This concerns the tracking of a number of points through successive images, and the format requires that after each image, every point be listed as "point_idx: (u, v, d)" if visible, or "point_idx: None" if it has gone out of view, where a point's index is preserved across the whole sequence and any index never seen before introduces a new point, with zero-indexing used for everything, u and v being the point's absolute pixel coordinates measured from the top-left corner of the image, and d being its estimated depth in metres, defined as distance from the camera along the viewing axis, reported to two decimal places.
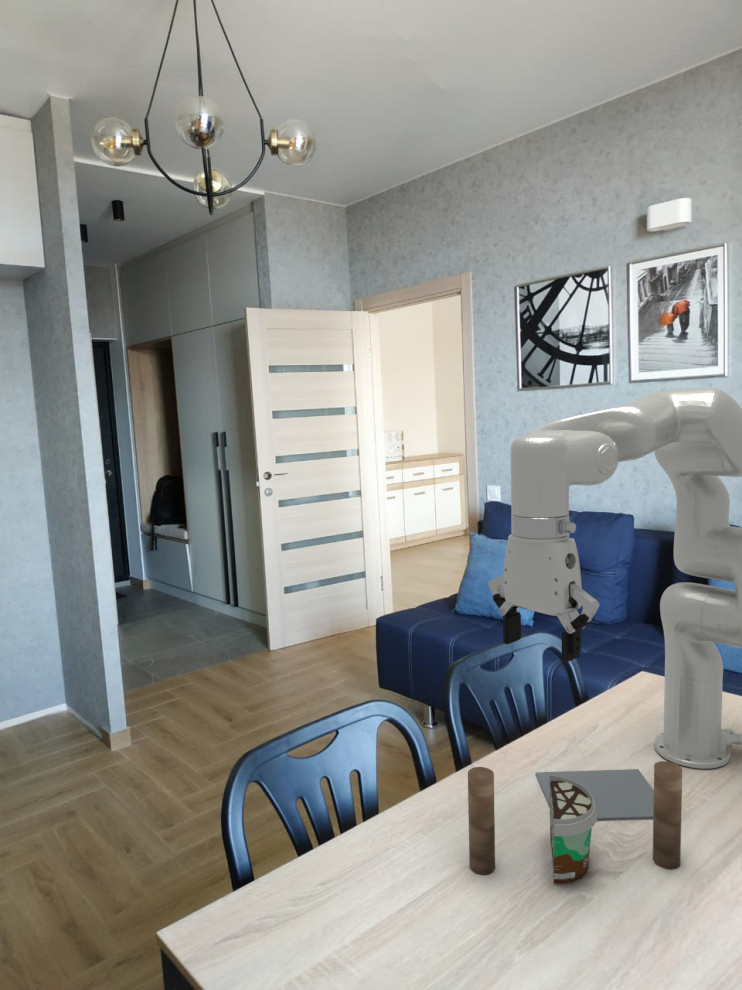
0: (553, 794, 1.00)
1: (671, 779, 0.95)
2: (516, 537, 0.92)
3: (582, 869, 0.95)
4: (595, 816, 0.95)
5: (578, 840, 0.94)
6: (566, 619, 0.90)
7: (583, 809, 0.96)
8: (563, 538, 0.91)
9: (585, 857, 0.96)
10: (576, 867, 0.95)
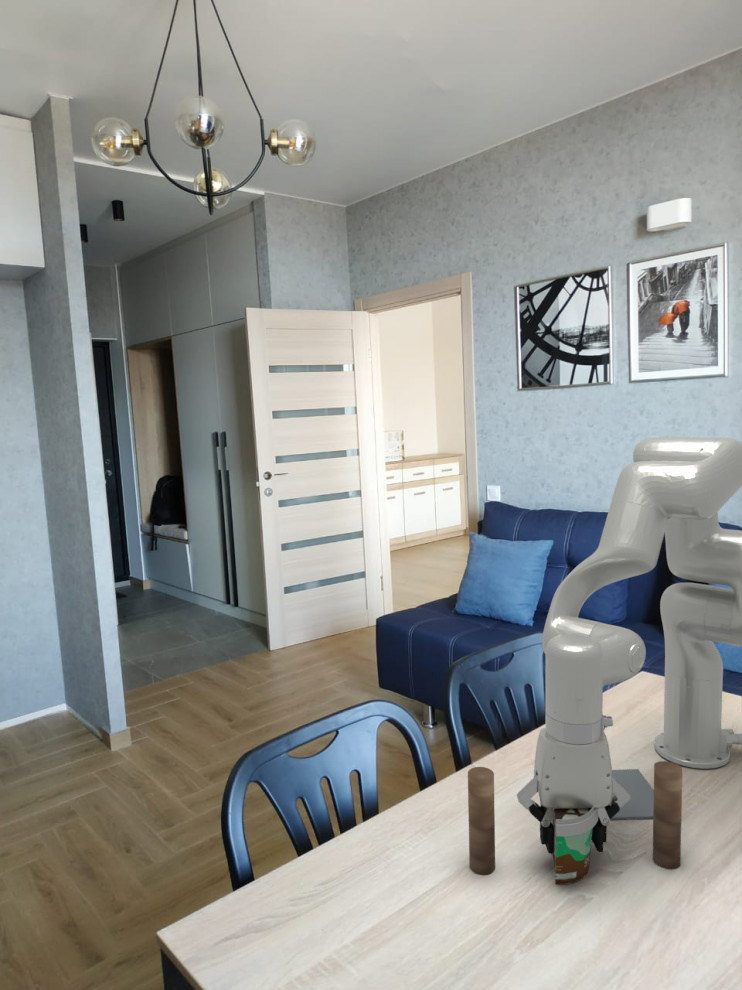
0: None
1: (671, 779, 0.95)
2: (572, 745, 0.93)
3: (583, 869, 0.95)
4: (596, 816, 0.95)
5: (579, 840, 0.94)
6: (605, 813, 0.96)
7: (584, 809, 0.96)
8: None
9: (587, 857, 0.96)
10: (577, 867, 0.95)
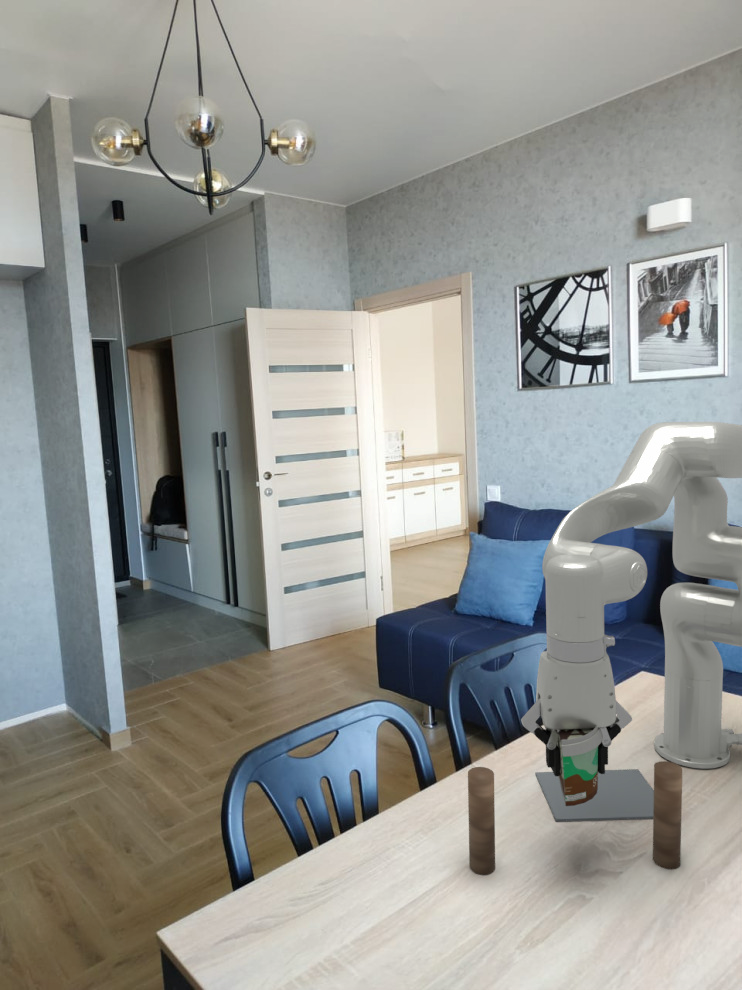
0: None
1: (671, 779, 0.95)
2: (574, 663, 0.91)
3: (592, 789, 0.95)
4: (601, 734, 0.95)
5: (586, 759, 0.93)
6: (607, 734, 0.95)
7: (588, 729, 0.95)
8: None
9: (595, 776, 0.95)
10: (586, 787, 0.94)
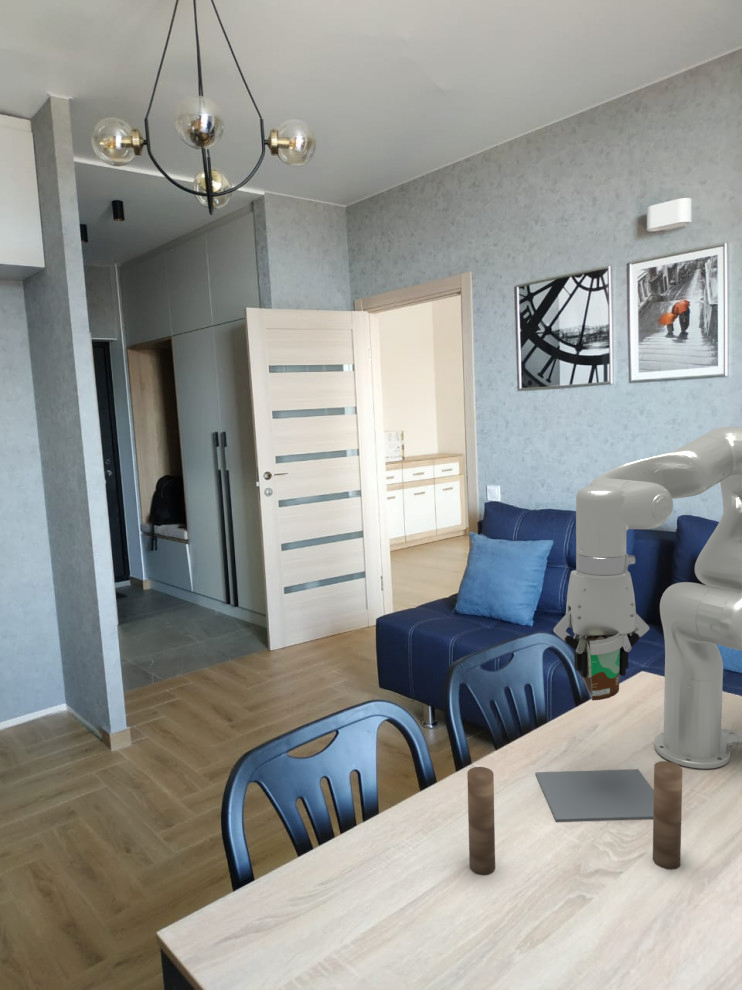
0: None
1: (671, 779, 0.95)
2: (601, 576, 1.07)
3: (615, 686, 1.10)
4: (623, 639, 1.10)
5: (610, 659, 1.08)
6: (627, 640, 1.11)
7: (612, 635, 1.11)
8: None
9: (617, 676, 1.10)
10: (610, 684, 1.09)
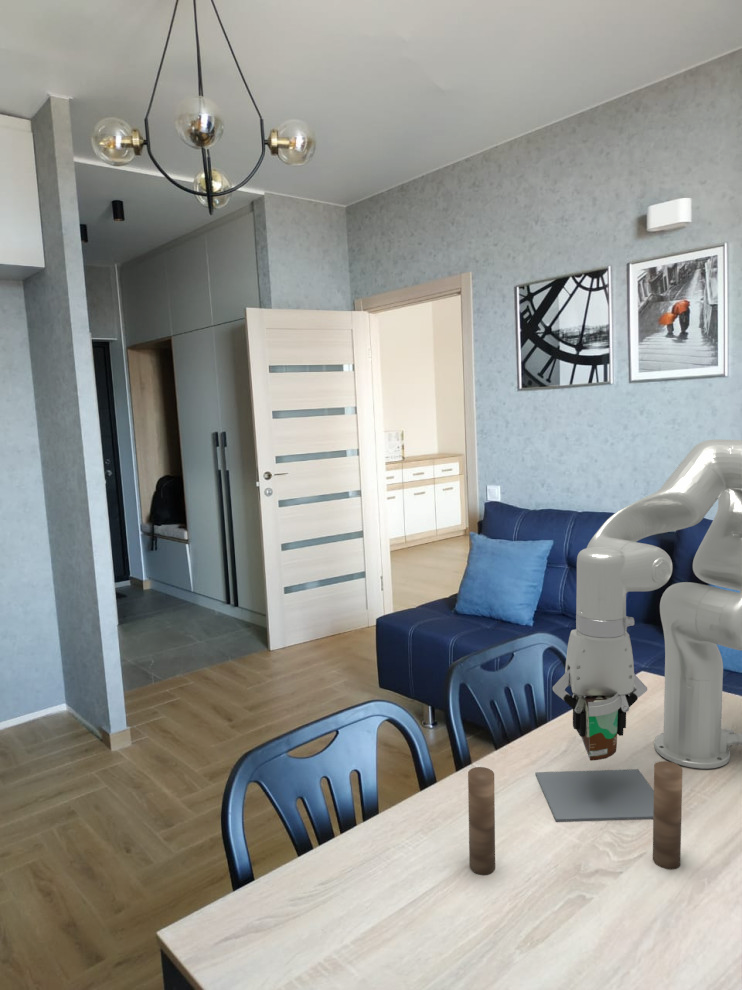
0: None
1: (671, 779, 0.95)
2: (600, 638, 1.08)
3: (612, 747, 1.11)
4: (621, 700, 1.11)
5: (608, 720, 1.09)
6: (625, 701, 1.12)
7: (610, 696, 1.12)
8: None
9: (615, 736, 1.11)
10: (608, 745, 1.10)
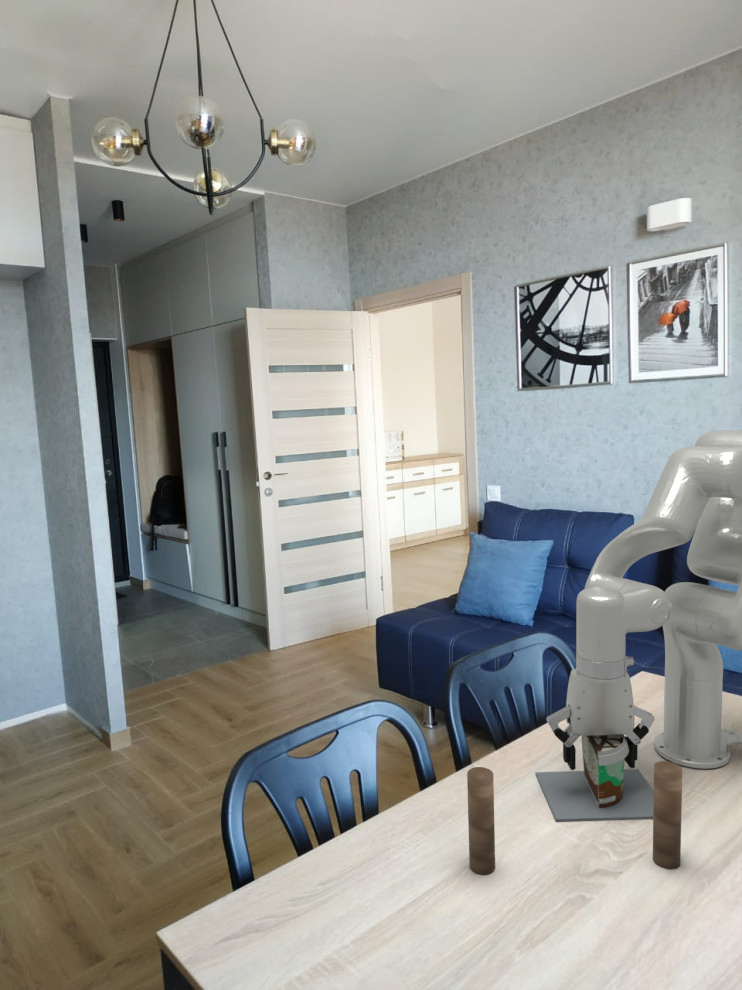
0: None
1: (671, 779, 0.95)
2: (600, 679, 1.09)
3: (620, 793, 1.12)
4: (627, 746, 1.12)
5: (617, 768, 1.11)
6: (634, 734, 1.13)
7: (617, 742, 1.13)
8: None
9: (622, 782, 1.13)
10: (616, 791, 1.11)
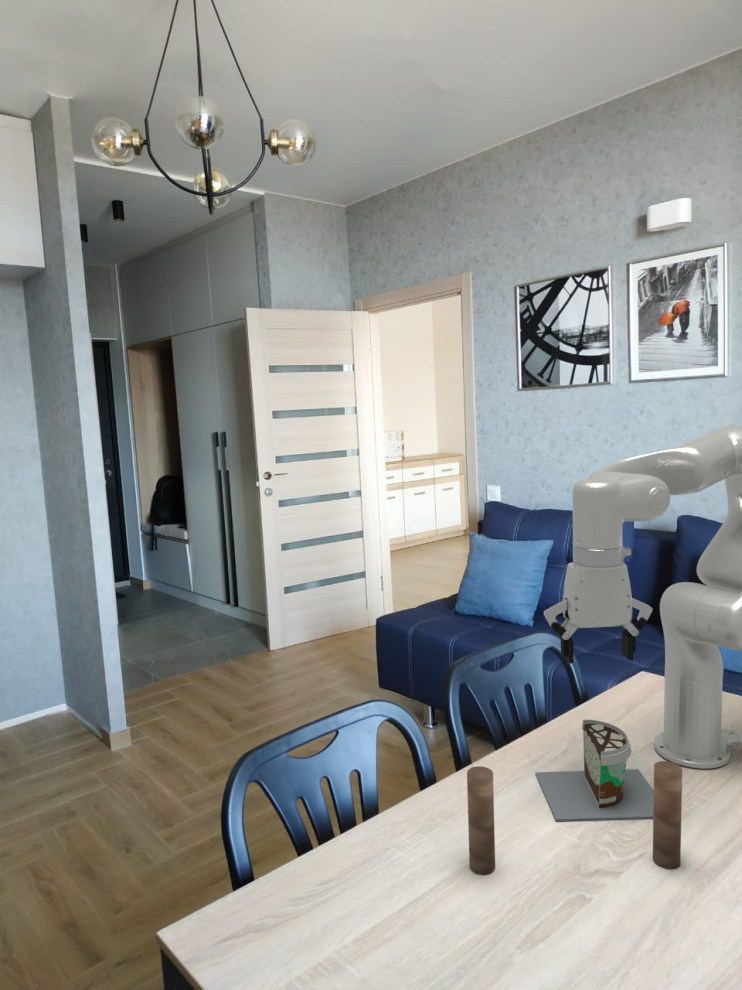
0: (591, 734, 1.16)
1: (671, 779, 0.95)
2: (598, 567, 1.08)
3: (620, 794, 1.12)
4: (630, 748, 1.13)
5: (619, 769, 1.11)
6: (632, 625, 1.12)
7: (619, 743, 1.13)
8: None
9: (623, 783, 1.13)
10: (617, 792, 1.11)
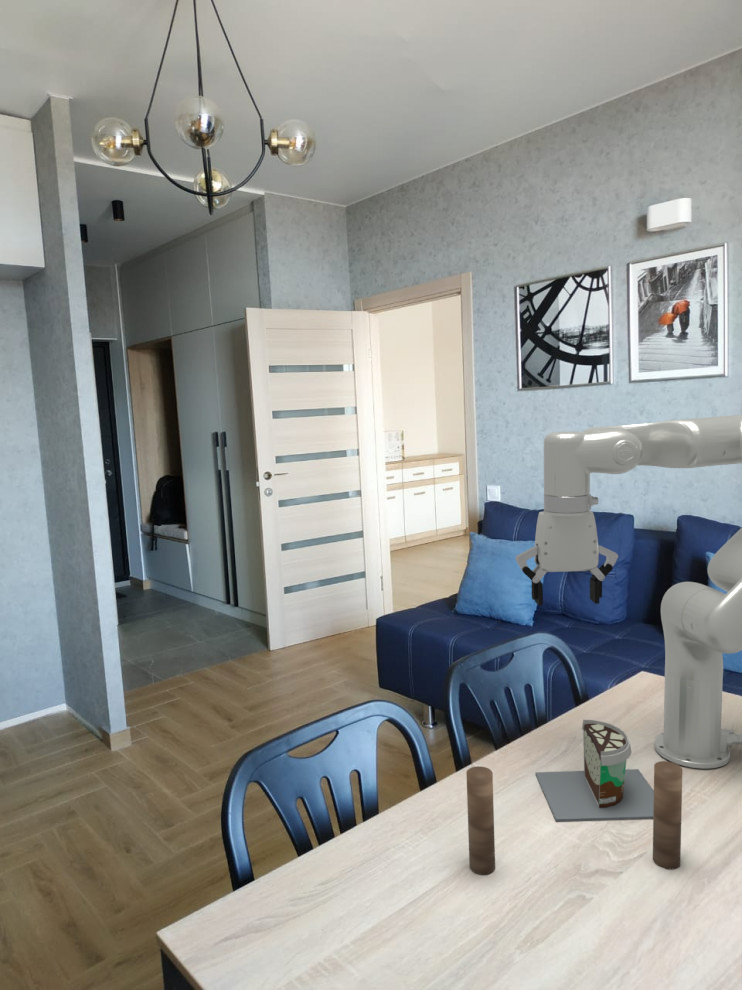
0: (591, 734, 1.16)
1: (671, 779, 0.95)
2: (565, 513, 1.15)
3: (620, 794, 1.12)
4: (630, 748, 1.13)
5: (619, 769, 1.11)
6: (598, 570, 1.18)
7: (619, 743, 1.13)
8: None
9: (623, 783, 1.13)
10: (617, 792, 1.11)
